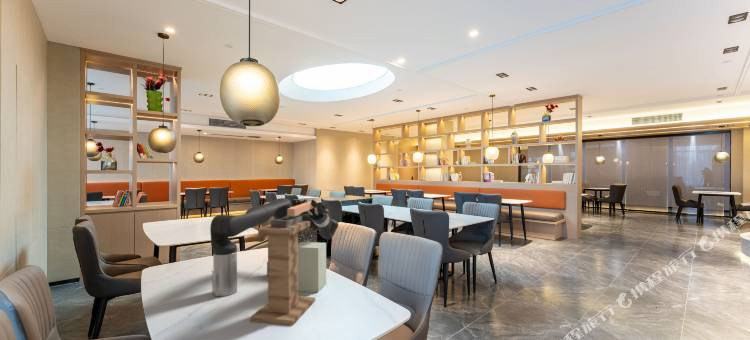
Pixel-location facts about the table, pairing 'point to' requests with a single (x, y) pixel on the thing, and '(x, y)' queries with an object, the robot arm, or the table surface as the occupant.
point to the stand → (283, 273)
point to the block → (299, 209)
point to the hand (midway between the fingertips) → (308, 201)
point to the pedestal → (311, 266)
